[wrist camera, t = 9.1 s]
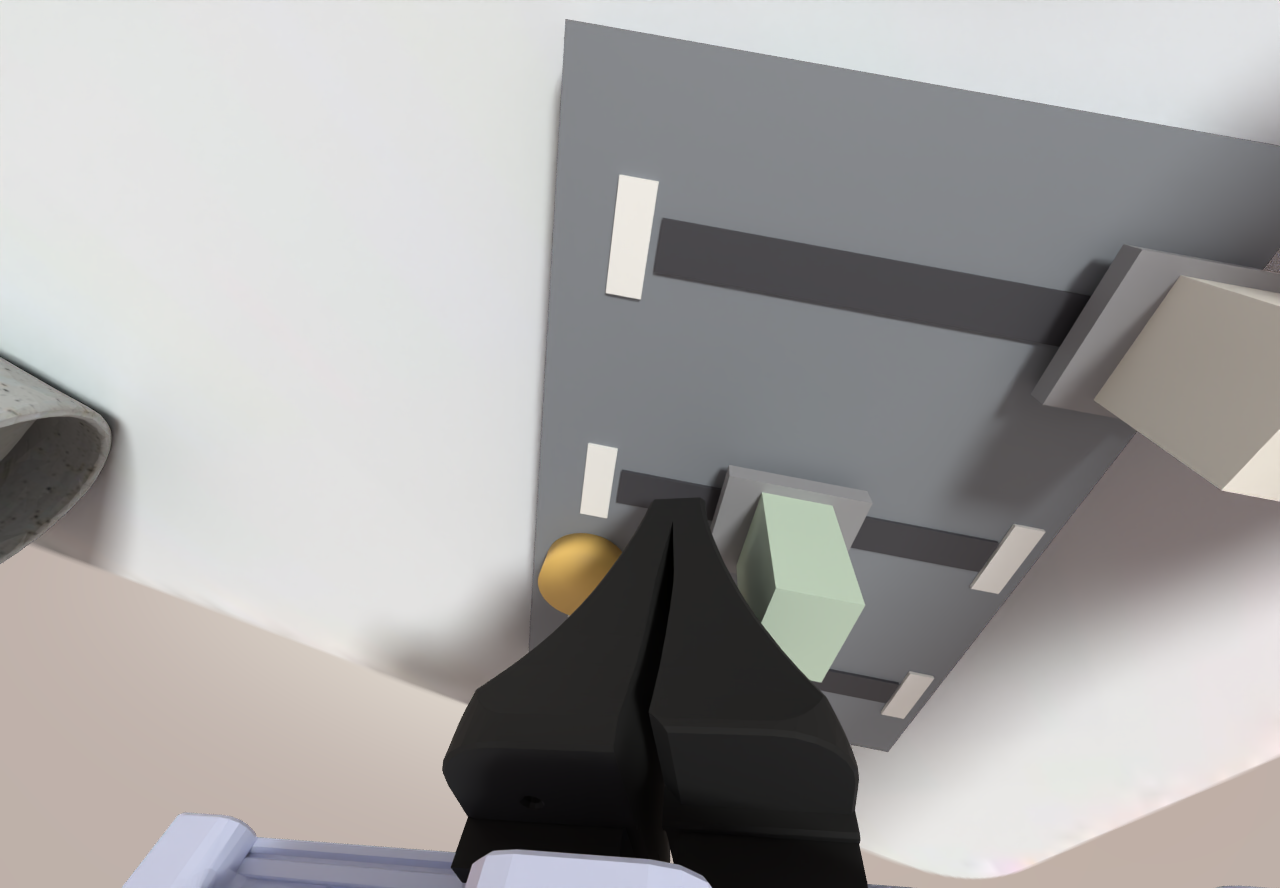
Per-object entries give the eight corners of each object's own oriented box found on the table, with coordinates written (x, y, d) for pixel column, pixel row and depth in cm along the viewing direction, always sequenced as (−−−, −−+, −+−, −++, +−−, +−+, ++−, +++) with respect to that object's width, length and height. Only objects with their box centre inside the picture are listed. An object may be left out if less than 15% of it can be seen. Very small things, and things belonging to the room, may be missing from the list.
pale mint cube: (867, 491, 13) (916, 603, 10) (825, 578, 15) (856, 698, 12) (728, 465, 13) (735, 568, 10) (702, 554, 15) (701, 667, 12)
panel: (1285, 154, 10) (1415, 160, 8) (879, 721, 21) (895, 780, 19) (580, 29, 10) (550, 7, 8) (535, 653, 21) (518, 704, 19)
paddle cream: (1314, 278, 10) (1603, 350, 7) (1193, 424, 11) (1375, 537, 8) (1123, 243, 10) (1320, 298, 7) (1030, 394, 11) (1152, 494, 8)
